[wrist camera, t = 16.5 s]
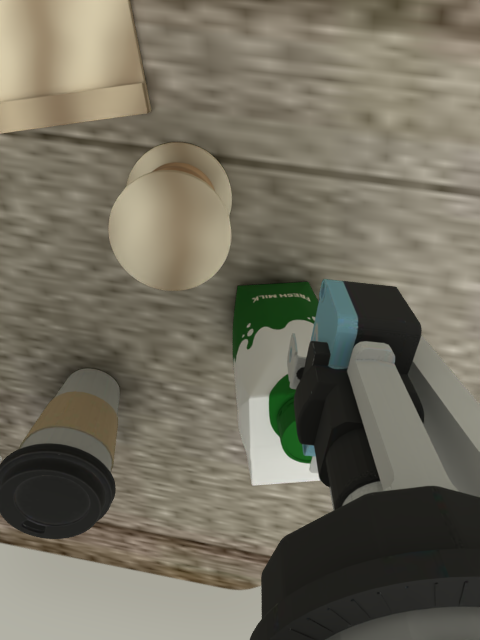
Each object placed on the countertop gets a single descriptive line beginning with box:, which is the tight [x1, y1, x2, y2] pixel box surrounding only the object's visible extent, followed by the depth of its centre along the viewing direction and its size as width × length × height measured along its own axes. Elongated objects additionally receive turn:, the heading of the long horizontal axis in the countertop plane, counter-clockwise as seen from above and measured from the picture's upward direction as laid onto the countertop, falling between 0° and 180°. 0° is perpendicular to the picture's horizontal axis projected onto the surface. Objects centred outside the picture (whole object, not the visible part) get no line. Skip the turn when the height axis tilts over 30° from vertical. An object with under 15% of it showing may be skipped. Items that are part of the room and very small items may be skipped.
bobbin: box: [108, 142, 232, 291], centre depth 34 cm, size 9×9×11 cm
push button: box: [250, 279, 480, 640], centre depth 10 cm, size 7×5×10 cm
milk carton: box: [233, 282, 320, 485], centre depth 37 cm, size 9×9×20 cm
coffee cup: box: [0, 368, 120, 539], centre depth 42 cm, size 9×9×15 cm
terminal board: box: [0, 0, 152, 133], centre depth 31 cm, size 14×14×3 cm
